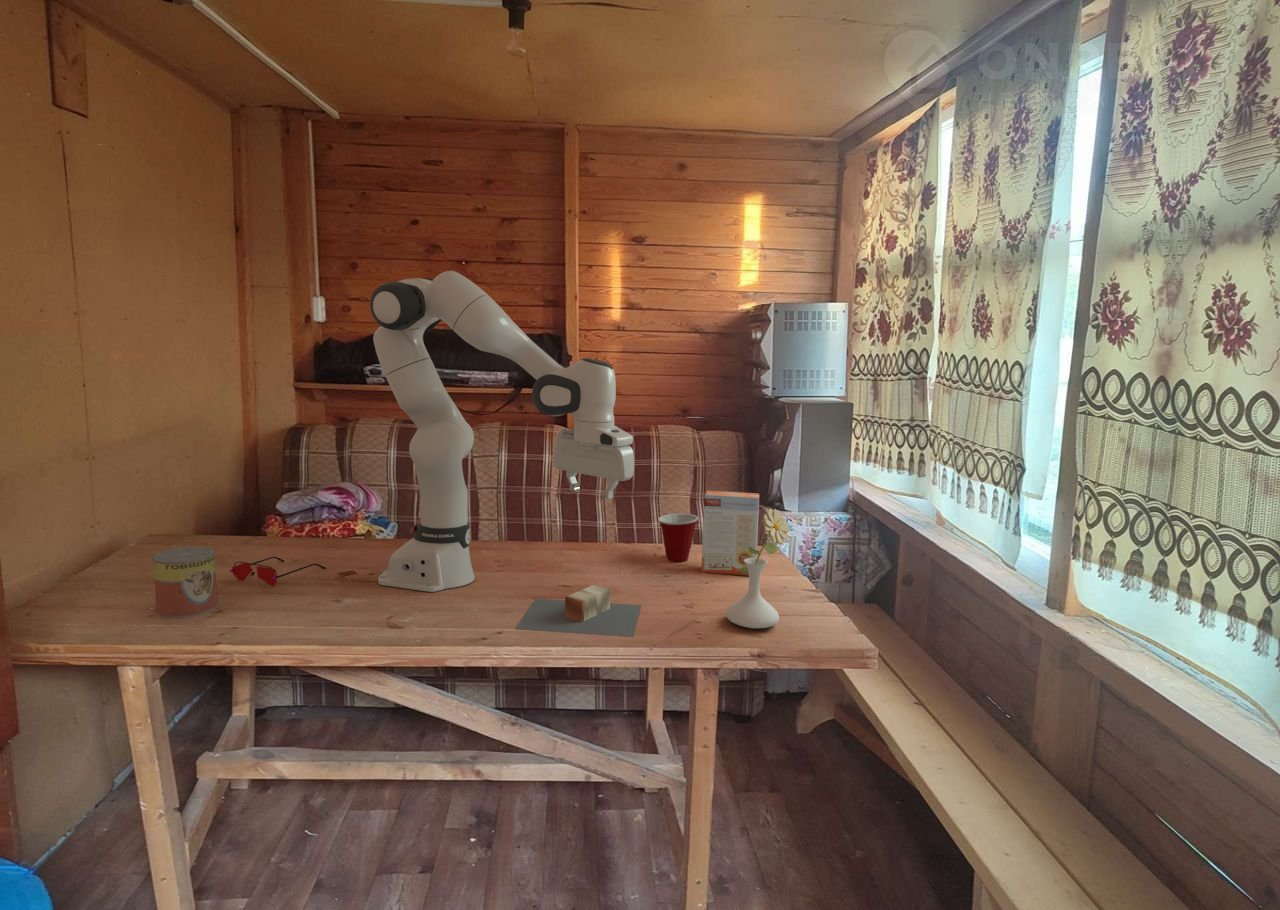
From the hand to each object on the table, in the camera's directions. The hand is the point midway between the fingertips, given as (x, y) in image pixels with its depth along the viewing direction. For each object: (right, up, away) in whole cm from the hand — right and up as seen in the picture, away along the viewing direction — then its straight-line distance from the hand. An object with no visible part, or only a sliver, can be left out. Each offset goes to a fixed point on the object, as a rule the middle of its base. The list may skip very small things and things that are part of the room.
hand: (591, 494), depth 169 cm
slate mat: (-2, -26, -8) cm, 28 cm away
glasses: (-77, -21, +15) cm, 81 cm away
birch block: (+3, -22, -2) cm, 23 cm away
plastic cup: (+21, -20, +38) cm, 47 cm away
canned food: (-85, -24, -9) cm, 89 cm away
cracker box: (+34, -22, +29) cm, 49 cm away
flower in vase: (+36, -27, -6) cm, 45 cm away
